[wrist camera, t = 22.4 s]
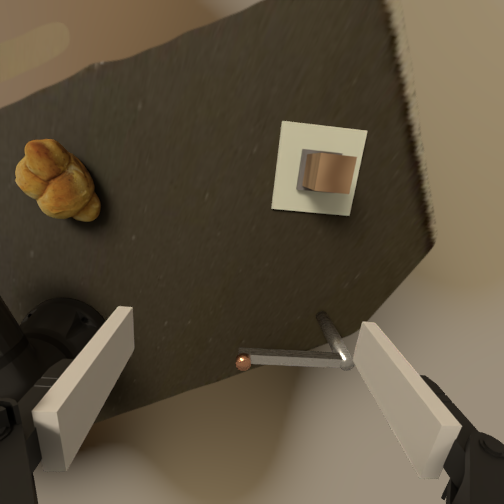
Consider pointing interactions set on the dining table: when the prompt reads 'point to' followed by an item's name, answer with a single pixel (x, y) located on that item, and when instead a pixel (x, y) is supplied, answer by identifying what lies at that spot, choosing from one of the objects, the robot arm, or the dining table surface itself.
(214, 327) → the dining table surface
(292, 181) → the sage mat
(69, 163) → the bread roll
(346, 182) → the brown boxy piece
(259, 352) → the grey l-shaped handle
